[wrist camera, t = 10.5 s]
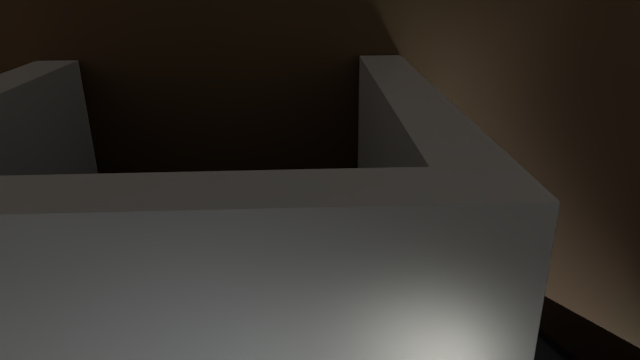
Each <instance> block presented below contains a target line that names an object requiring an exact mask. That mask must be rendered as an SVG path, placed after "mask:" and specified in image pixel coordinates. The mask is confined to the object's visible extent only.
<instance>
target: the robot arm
mask: <svg viewBox="0 0 640 360" xmlns="http://www.w3.org/2000/svg"><path fill="white" fill-rule="evenodd" d="M534 360H640V348H638V347H636V346H634V345H633V344H631V343H629V342H627V341H625V340H624V339H622V338H620V337H618V336H616V335H614V334H613V333H611V332H609V331H607V330H605V329H604V328H602V327H600V326H598V325H596V324H594V323H593V322H591V321H589V320H587V319H585V318H584V317H582V316H580V315H578V314H576V313H574V312H573V311H571V310H569V309H567V308H565V307H564V306H562V305H560V304H558V303H556V302H555V301H553V300H551V299H549V298H547V297H545V296H544V302H543V308H542V314H541V319H540V325H539V331H538V337H537V343H536V349H535V355H534Z"/></svg>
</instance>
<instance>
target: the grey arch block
mask: <svg viewBox="0 0 640 360" xmlns="http://www.w3.org/2000/svg"><path fill="white" fill-rule="evenodd" d="M559 206H560V201H559V200H558V199H557V198H556V197H554V196H553V195H552V194H551V193H550V192H549V191H548V190H547V189H546V188H545V187H544V186H543V185H541V184H540V183H539V182H538V181H537V180H536V179H535V178H534V177H533V176H532V175H531V174H529V173H528V172H527V171H526V170H525V169H524V168H523V167H522V166H521V165H520V164H519V163H517V162H516V161H515V160H514V159H513V158H512V157H511V156H510V155H509V154H508V153H507V152H506V151H504V150H503V149H502V148H501V147H500V146H499V145H498V144H497V143H496V142H495V141H494V140H492V139H491V138H490V137H489V136H488V135H487V134H486V133H485V132H484V131H483V130H482V129H480V128H479V127H478V126H477V125H476V124H475V123H474V122H473V121H472V120H471V119H470V118H469V117H467V116H466V115H465V114H464V113H463V112H462V111H461V110H460V109H459V108H458V107H457V106H455V105H454V104H453V103H452V102H451V101H450V100H449V99H448V98H447V97H446V96H445V95H444V94H442V93H441V92H440V91H439V90H438V89H437V88H436V87H435V86H434V85H433V84H432V83H430V82H429V81H428V80H427V79H426V78H425V77H424V76H423V75H422V74H421V73H420V72H418V71H417V70H416V69H415V68H414V67H413V66H412V65H411V64H410V63H409V62H408V61H407V60H405V59H404V58H403V57H402V56H401V55H373V56H360V57H359V120H358V168H340V169H293V170H246V171H198V172H150V173H103V174H98V171H97V165H96V159H95V153H94V148H93V142H92V136H91V130H90V125H89V119H88V113H87V108H86V102H85V96H84V90H83V85H82V79H81V73H80V68H79V62H78V60H61V61H34V62H32V63H29V64H26V65H23V66H20V67H18V68H15V69H12V70H9V71H7V72H4V73H1V74H0V360H534V355H535V349H536V343H537V337H538V331H539V325H540V319H541V314H542V308H543V302H544V296H545V290H546V284H547V278H548V272H549V266H550V260H551V254H552V248H553V242H554V236H555V230H556V224H557V218H558V212H559Z"/></svg>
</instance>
